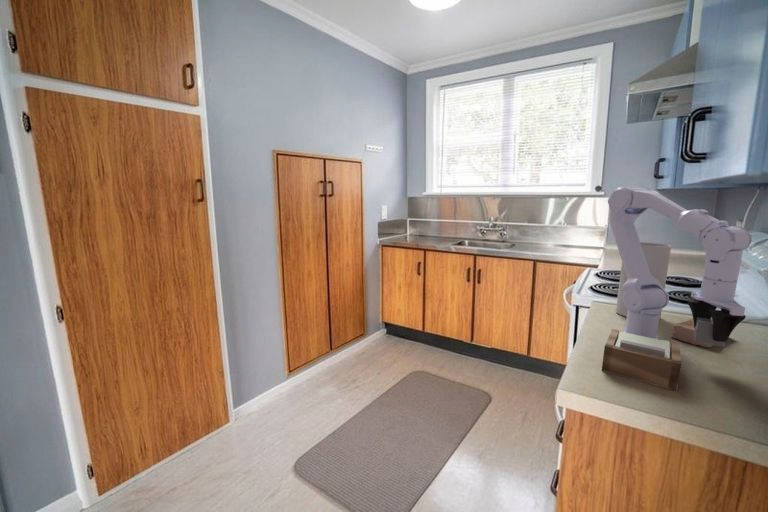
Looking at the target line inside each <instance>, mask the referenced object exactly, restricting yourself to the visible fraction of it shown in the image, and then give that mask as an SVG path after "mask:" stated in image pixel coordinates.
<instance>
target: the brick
mask: <svg viewBox="0 0 768 512" xmlns="http://www.w3.org/2000/svg"><path fill="white" fill-rule="evenodd" d="M694 331H695V327H694V321H693V317H692V318H689V319H688V320H686V321H682V322H677V323H674V324H673V325H672V333H671V335H672V337H673V338H674V339H677V340H679V341H681V342H682V341H683V342H685V343H689V344H691V345H694V346H695V345H697V346H701V347H702V348H703V347H704V348H712V347H713V346H715V345H712V344H707V343H702V342H697V341H695V338H694Z"/></svg>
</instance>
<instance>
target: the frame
mask: <svg viewBox="0 0 768 512" xmlns="http://www.w3.org/2000/svg"><path fill="white" fill-rule="evenodd" d="M619 334H620V330H619V329H614V328H612V329H611V331H610V333H609V336H608V338H607V340H606V343H605V345H604V348H603V358H602V364H601V365H602V366H601V371H603V372H606V373H611V374H613V375H618V376H620V377H626V378H628V379H632V380H635V381H639V382H643V383H646V384H647V383H648V384H651V385H654V386H658V387H661V388H665V389H669V390H673V391H676V392H677V391H678V387H679V383H680V382H679V380H680V374H681V370H682V369H681V368H682V357H681V343H680V342H678V341H674V340H673V341H671V342H670V359H668V358H663V357H659V356H655V355H650V354H646V353H642V352H637V351H633V350H629V349H625V348H620V347H616V346H615V345H616V342H617V340H618V337H619Z"/></svg>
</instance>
